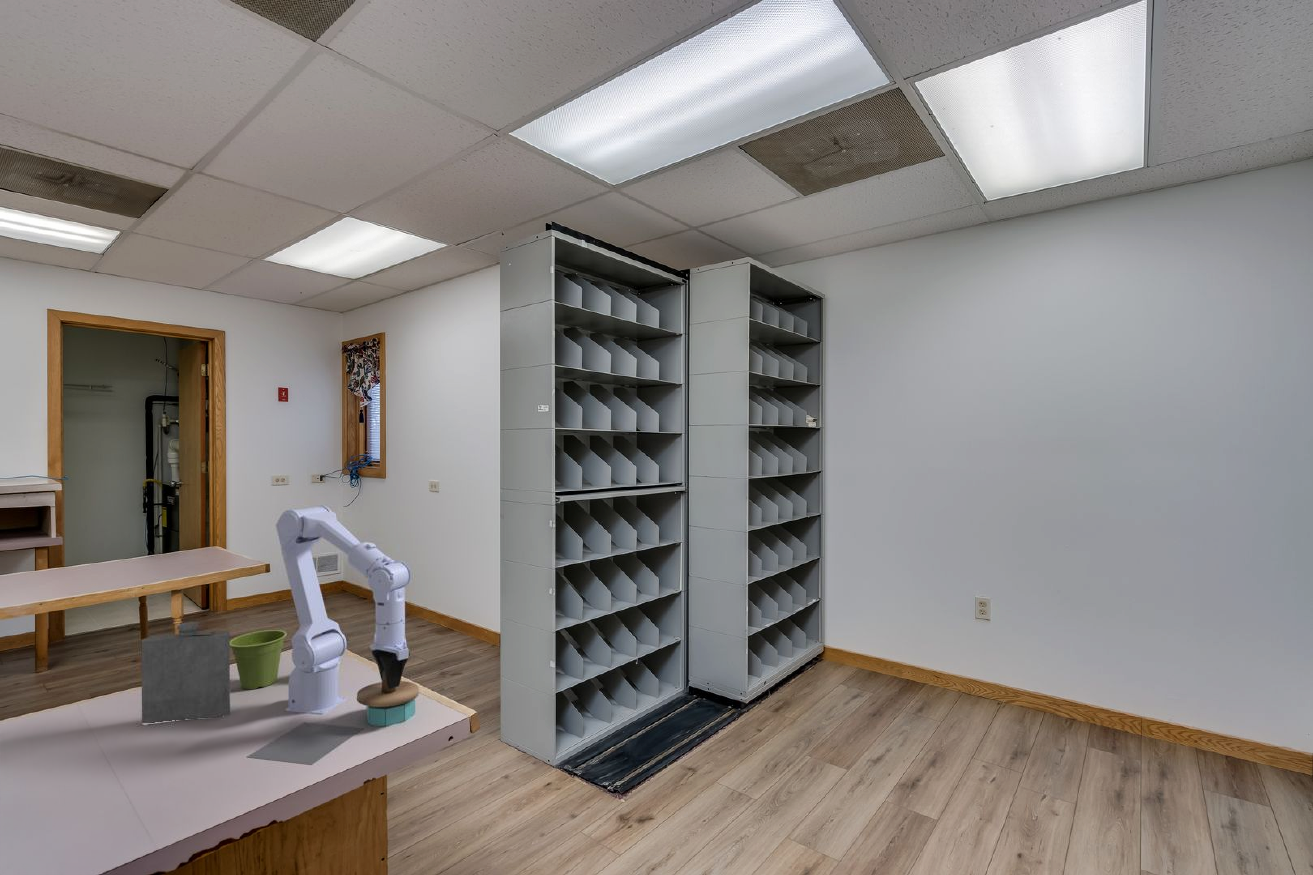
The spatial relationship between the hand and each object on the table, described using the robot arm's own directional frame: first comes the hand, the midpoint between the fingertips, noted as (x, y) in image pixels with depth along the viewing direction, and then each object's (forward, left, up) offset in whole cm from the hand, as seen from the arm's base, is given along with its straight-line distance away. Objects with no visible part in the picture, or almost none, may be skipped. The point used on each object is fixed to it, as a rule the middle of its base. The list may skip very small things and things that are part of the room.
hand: (390, 684), depth 129 cm
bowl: (0, 0, -7) cm, 7 cm away
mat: (-9, -13, -7) cm, 17 cm away
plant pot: (-43, +10, -7) cm, 45 cm away
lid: (0, -1, -2) cm, 2 cm away
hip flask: (-43, -8, -7) cm, 44 cm away
